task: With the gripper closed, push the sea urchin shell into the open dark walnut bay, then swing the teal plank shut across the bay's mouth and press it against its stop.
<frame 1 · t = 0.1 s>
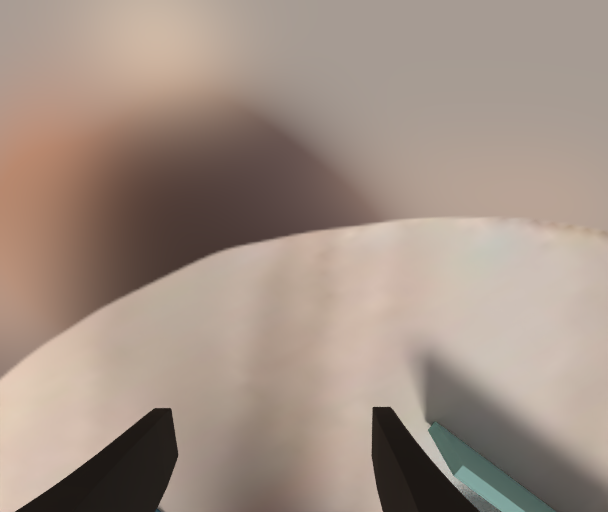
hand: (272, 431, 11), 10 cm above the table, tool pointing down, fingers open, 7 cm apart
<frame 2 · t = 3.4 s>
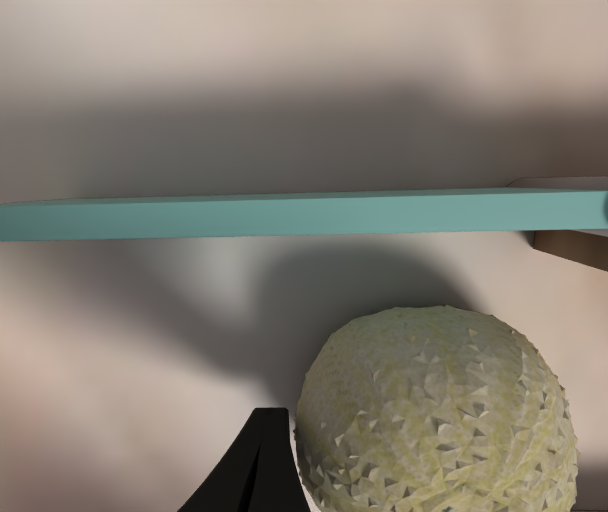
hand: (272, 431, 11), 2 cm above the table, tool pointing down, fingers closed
teal plank: (294, 210, 9), point 2 cm above the table, hinge at -90.0°
sea urchin shell: (406, 389, 13), on the table, touching gripper
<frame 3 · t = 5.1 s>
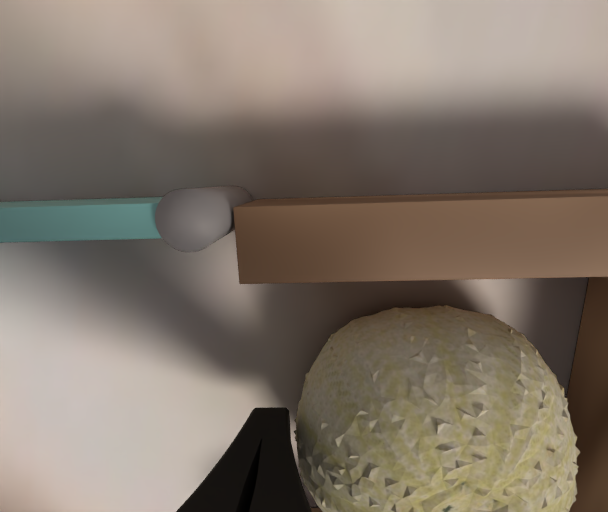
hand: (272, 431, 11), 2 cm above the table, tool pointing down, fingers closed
bay: (416, 393, 13), on the table
sea urchin shell: (407, 389, 13), on the table, touching gripper
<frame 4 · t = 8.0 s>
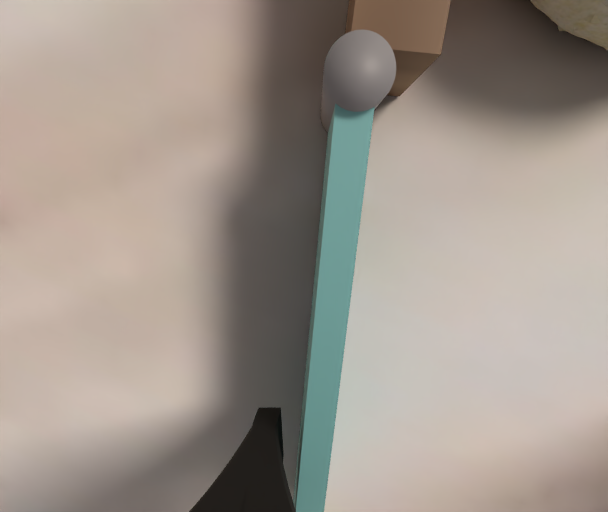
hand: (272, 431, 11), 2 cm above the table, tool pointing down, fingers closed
teal plank: (320, 359, 10), point 2 cm above the table, hinge at -88.7°, touching gripper
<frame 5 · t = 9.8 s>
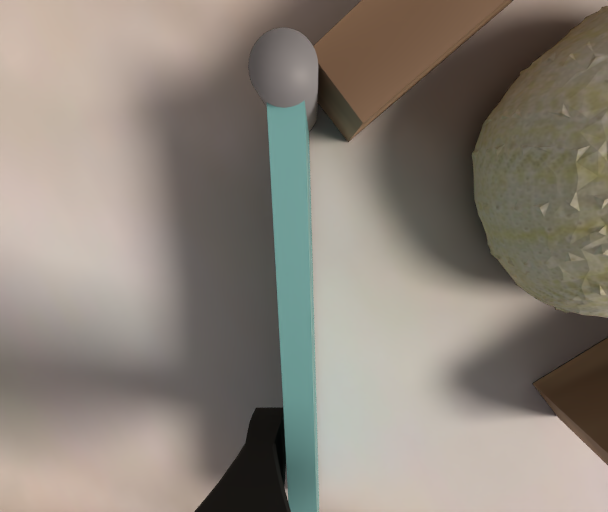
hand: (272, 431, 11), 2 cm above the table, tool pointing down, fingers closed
teal plank: (301, 354, 10), point 2 cm above the table, hinge at -37.8°, touching gripper
bay: (597, 165, 11), on the table
sea urchin shell: (583, 170, 11), on the table
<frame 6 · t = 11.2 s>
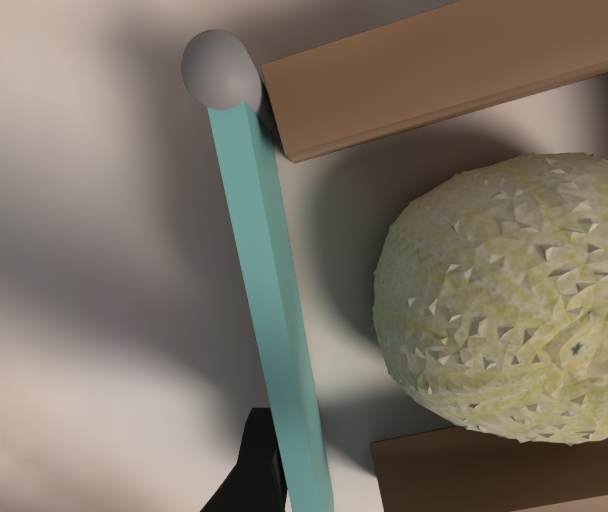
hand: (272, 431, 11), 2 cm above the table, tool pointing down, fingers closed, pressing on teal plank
teal plank: (289, 355, 10), point 2 cm above the table, hinge at -6.2°, touching gripper
bay: (493, 280, 12), on the table
sea urchin shell: (482, 281, 12), on the table
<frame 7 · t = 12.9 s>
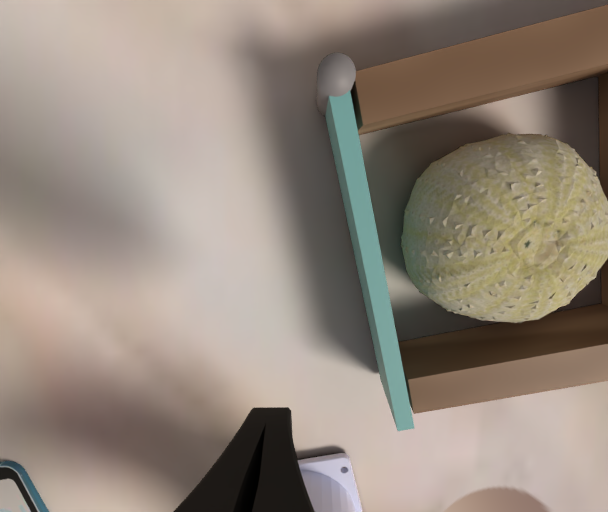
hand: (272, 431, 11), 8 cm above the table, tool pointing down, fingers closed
teal plank: (366, 257, 15), point 2 cm above the table, hinge at 0.6°
bay: (483, 224, 17), on the table
sea urchin shell: (475, 225, 17), on the table
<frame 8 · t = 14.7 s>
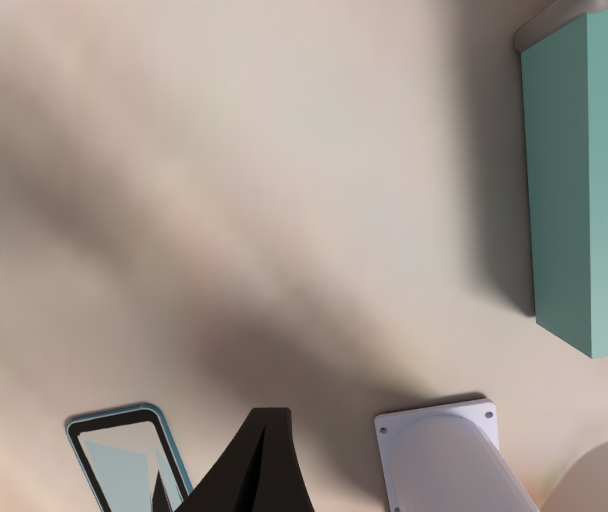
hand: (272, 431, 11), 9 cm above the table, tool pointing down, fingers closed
teal plank: (565, 189, 16), point 2 cm above the table, hinge at 0.6°
smartphone: (150, 485, 25), on the table
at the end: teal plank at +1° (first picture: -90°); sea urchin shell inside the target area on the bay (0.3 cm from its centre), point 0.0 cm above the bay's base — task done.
